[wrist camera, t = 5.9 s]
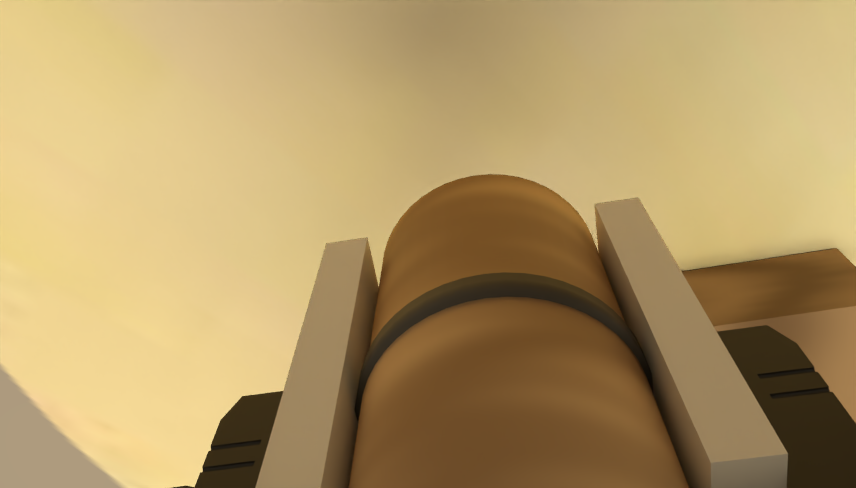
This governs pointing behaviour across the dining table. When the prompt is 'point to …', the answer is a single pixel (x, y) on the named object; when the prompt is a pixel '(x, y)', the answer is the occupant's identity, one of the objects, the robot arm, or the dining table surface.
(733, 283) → the board
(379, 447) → the dowel
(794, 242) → the dining table surface
